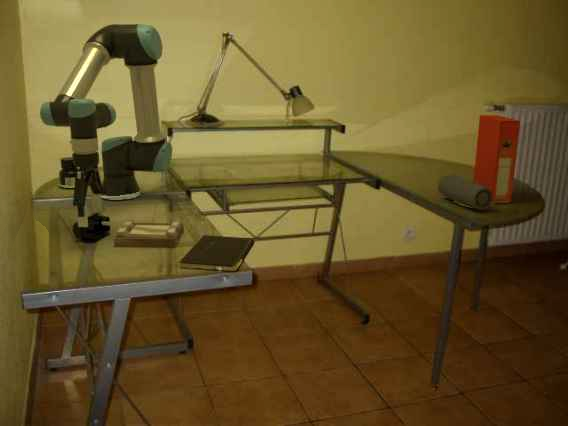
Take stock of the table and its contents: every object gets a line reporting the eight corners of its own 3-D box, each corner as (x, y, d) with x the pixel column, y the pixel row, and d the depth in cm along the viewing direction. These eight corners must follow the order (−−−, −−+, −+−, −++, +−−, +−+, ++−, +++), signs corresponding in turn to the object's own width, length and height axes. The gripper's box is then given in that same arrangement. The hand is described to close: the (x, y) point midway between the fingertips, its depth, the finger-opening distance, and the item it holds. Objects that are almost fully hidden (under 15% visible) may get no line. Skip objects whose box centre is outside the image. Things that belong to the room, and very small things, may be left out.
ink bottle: (69, 190, 236) (66, 161, 233) (55, 187, 241) (52, 159, 238) (88, 186, 244) (85, 157, 241) (74, 183, 249) (71, 155, 245)
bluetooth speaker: (492, 211, 214) (495, 185, 211) (471, 214, 211) (474, 187, 208) (455, 196, 235) (457, 172, 232) (435, 198, 232) (437, 173, 229)
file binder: (490, 204, 224) (500, 120, 215) (471, 193, 241) (479, 115, 232) (510, 203, 225) (521, 120, 216) (490, 192, 242) (499, 115, 233)
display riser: (128, 229, 189) (127, 218, 188) (183, 230, 189) (183, 218, 188) (114, 246, 174) (113, 233, 173) (174, 247, 174) (174, 234, 173)
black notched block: (92, 231, 187) (90, 211, 185) (111, 234, 185) (110, 213, 183) (73, 241, 178) (71, 220, 176) (93, 244, 176) (91, 222, 174)
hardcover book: (179, 269, 158) (179, 261, 158) (203, 242, 180) (203, 235, 180) (236, 274, 156) (236, 266, 155) (254, 245, 178) (254, 238, 177)
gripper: (86, 145, 186) (91, 209, 191) (56, 159, 162) (63, 232, 167) (110, 145, 186) (114, 209, 191) (83, 159, 162) (89, 232, 167)
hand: (90, 220), depth 179 cm, fingers open, 13 cm apart
